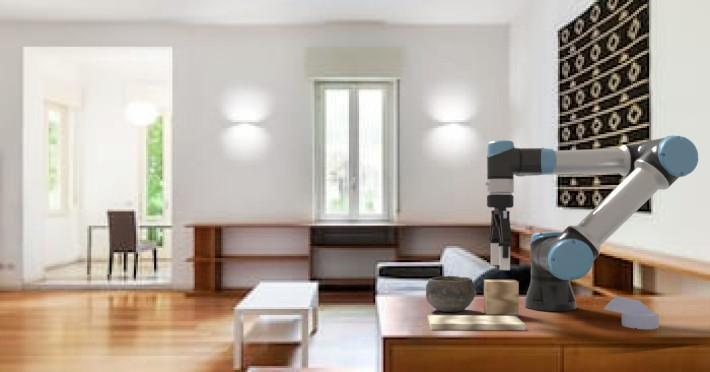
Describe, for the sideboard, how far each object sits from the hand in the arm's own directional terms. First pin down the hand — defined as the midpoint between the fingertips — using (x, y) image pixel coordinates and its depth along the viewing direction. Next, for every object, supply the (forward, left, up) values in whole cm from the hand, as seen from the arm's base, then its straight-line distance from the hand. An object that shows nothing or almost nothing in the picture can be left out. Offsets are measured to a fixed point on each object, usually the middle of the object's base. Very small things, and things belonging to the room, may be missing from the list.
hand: (499, 267), depth 182 cm
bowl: (+14, -6, -14) cm, 20 cm away
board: (+10, +15, -14) cm, 23 cm away
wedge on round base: (-33, +12, -14) cm, 38 cm away
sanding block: (0, 0, -14) cm, 14 cm away
